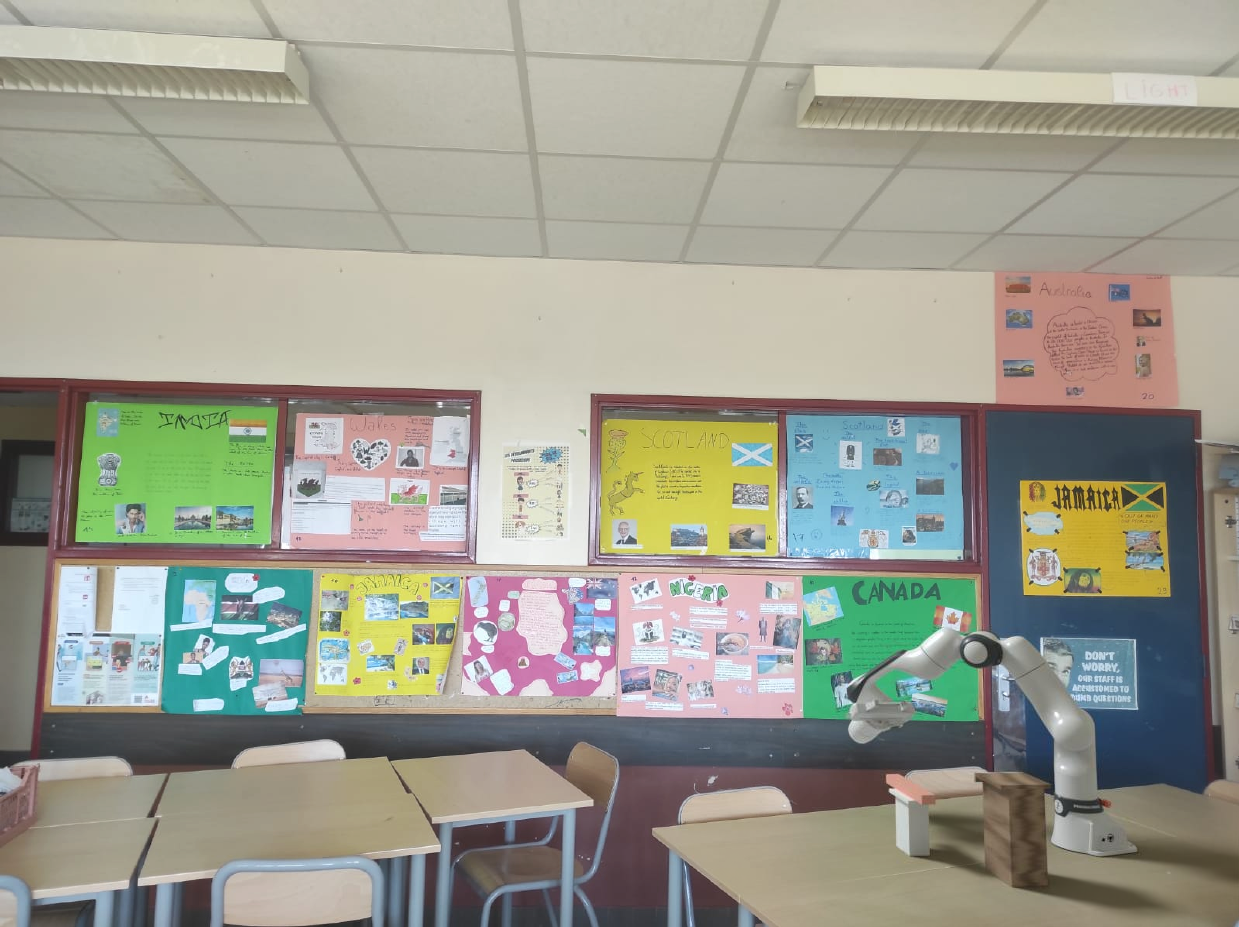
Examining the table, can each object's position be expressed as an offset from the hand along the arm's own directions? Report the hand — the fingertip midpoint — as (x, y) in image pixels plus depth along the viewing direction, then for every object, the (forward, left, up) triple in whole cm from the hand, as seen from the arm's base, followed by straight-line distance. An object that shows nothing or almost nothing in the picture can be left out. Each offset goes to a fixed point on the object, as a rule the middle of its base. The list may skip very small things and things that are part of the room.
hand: (891, 702), depth 254 cm
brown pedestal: (-16, +37, -38) cm, 56 cm away
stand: (+2, +16, -38) cm, 42 cm away
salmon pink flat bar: (+2, +15, -23) cm, 28 cm away
